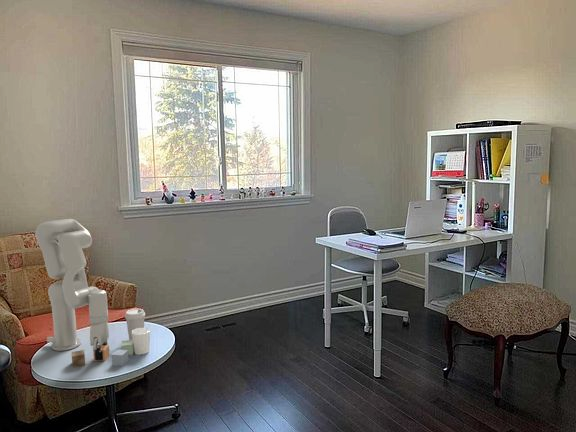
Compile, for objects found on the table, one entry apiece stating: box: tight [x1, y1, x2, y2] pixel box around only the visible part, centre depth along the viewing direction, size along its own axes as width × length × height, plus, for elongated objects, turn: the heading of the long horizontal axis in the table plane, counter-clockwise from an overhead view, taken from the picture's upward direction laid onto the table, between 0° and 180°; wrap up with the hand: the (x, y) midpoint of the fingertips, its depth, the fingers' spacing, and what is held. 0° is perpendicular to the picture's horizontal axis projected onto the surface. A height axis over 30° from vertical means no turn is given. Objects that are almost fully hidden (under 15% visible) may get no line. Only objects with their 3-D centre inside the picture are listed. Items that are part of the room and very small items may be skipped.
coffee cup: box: [124, 308, 146, 340], centre depth 219 cm, size 10×10×15 cm
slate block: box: [110, 349, 129, 367], centre depth 197 cm, size 5×5×5 cm
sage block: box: [120, 340, 135, 356], centre depth 207 cm, size 5×5×5 cm
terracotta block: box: [92, 344, 110, 362], centre depth 201 cm, size 5×5×5 cm
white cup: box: [132, 327, 151, 356], centre depth 207 cm, size 8×8×10 cm
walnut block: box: [71, 349, 86, 368], centre depth 196 cm, size 5×5×5 cm
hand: (101, 356), depth 202 cm, fingers closed on terracotta block, 5 cm apart
